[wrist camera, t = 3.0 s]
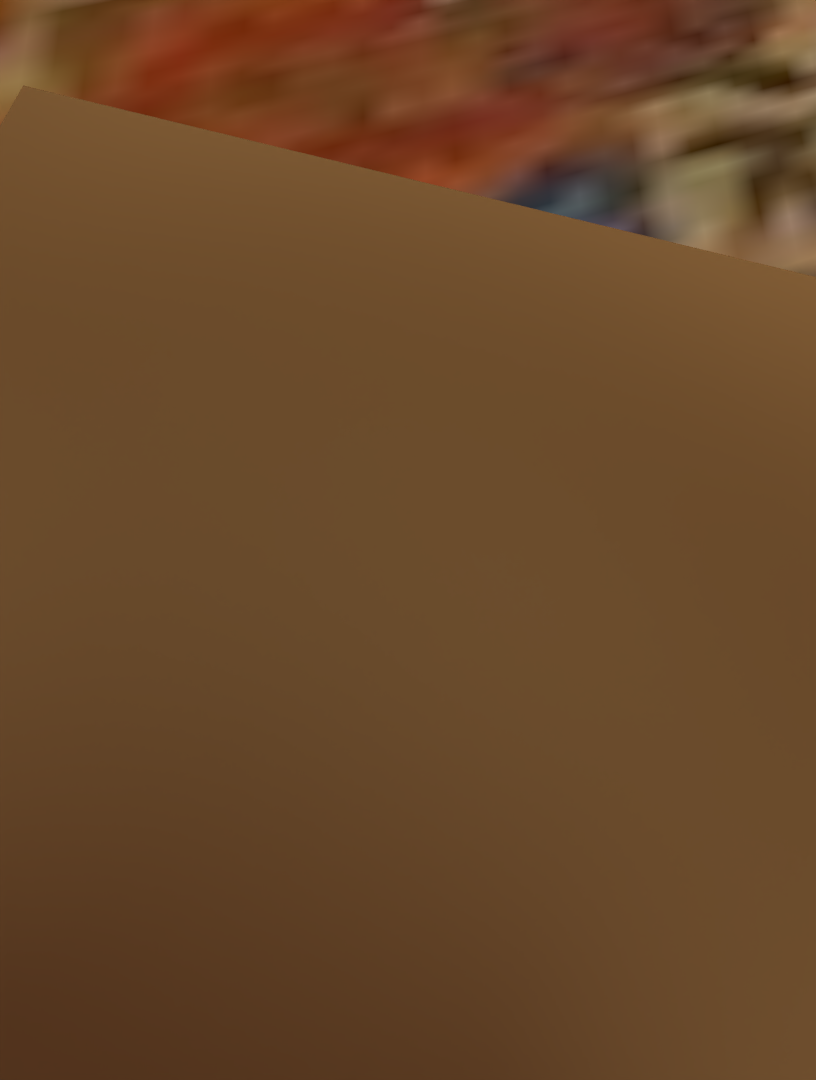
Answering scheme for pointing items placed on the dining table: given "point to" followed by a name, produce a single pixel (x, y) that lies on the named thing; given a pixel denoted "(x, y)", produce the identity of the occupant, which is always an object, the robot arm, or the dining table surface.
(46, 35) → the dining table surface
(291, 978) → the walnut pillar
